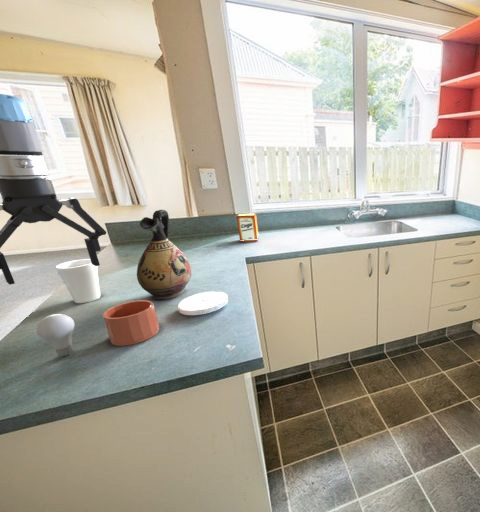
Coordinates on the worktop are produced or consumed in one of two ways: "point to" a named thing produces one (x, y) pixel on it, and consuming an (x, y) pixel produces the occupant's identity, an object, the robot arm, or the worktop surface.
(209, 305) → the plastic lid
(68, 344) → the lightbulb
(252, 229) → the baking soda box
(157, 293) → the ceramic jug
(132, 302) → the holder
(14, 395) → the worktop surface
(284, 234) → the worktop surface
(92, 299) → the foam cup
